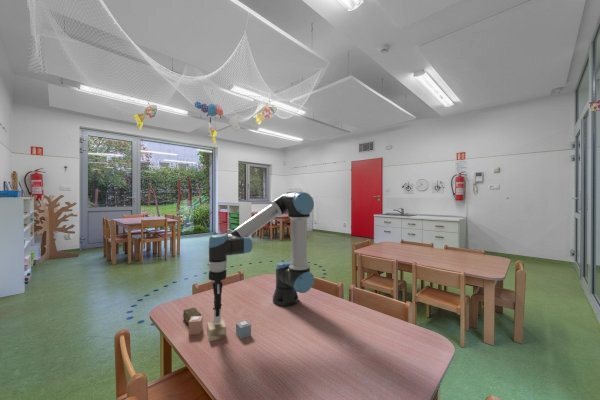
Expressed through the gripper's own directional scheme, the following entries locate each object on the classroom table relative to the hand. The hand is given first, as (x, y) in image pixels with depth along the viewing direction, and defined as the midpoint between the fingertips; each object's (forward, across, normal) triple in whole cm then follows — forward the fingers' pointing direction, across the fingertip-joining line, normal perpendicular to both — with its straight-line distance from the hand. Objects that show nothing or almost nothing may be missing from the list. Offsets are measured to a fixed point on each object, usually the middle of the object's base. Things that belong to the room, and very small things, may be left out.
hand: (217, 322), depth 113 cm
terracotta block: (+6, -6, -9) cm, 12 cm away
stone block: (+6, -17, -11) cm, 21 cm away
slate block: (+6, +4, +11) cm, 13 cm away
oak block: (+6, 0, 0) cm, 6 cm away
